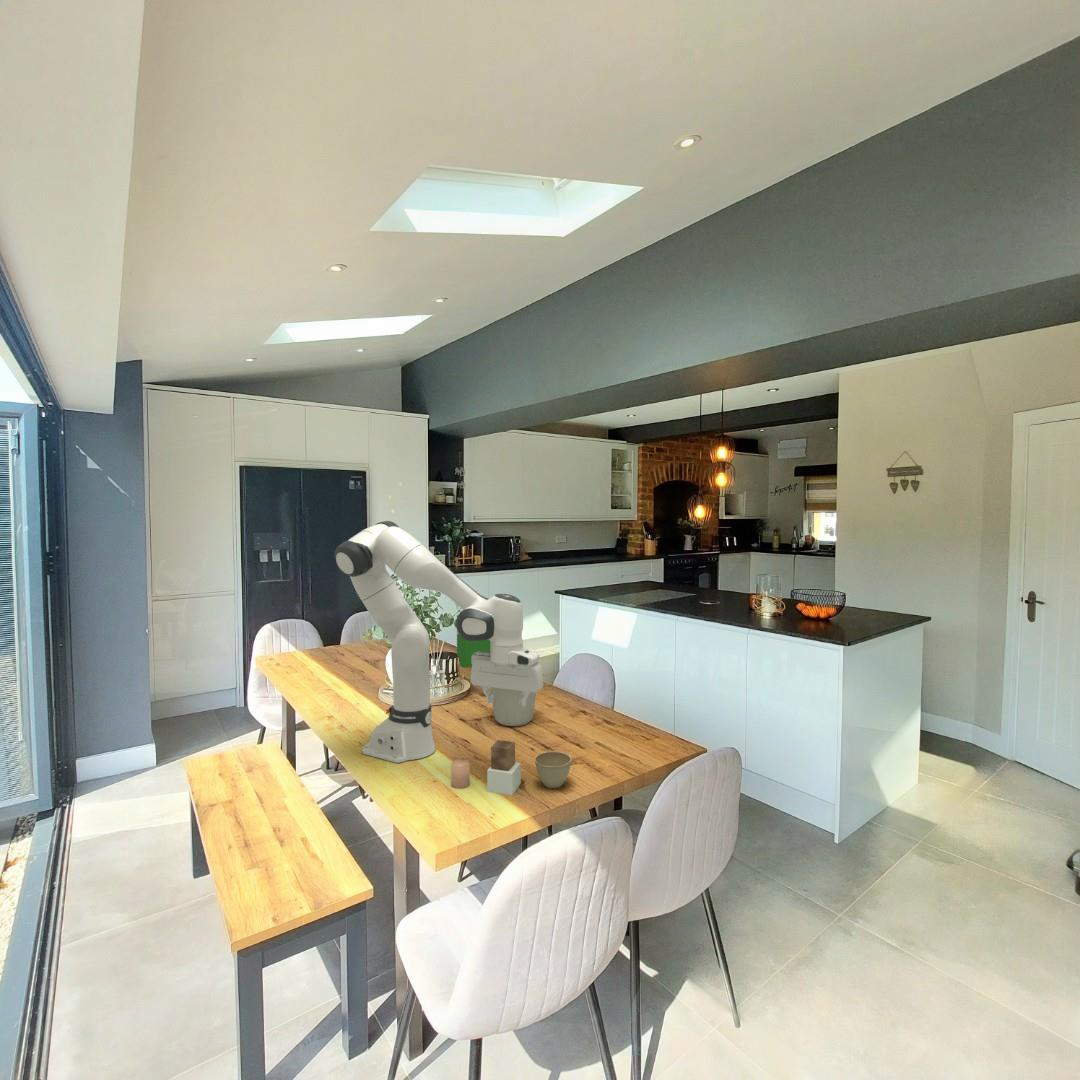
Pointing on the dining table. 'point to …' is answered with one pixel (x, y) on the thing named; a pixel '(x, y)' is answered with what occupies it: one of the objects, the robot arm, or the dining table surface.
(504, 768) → the walnut block
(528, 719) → the canister
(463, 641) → the hardback book
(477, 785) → the dining table surface
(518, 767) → the grey block
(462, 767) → the terracotta cylinder
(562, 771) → the flower pot
